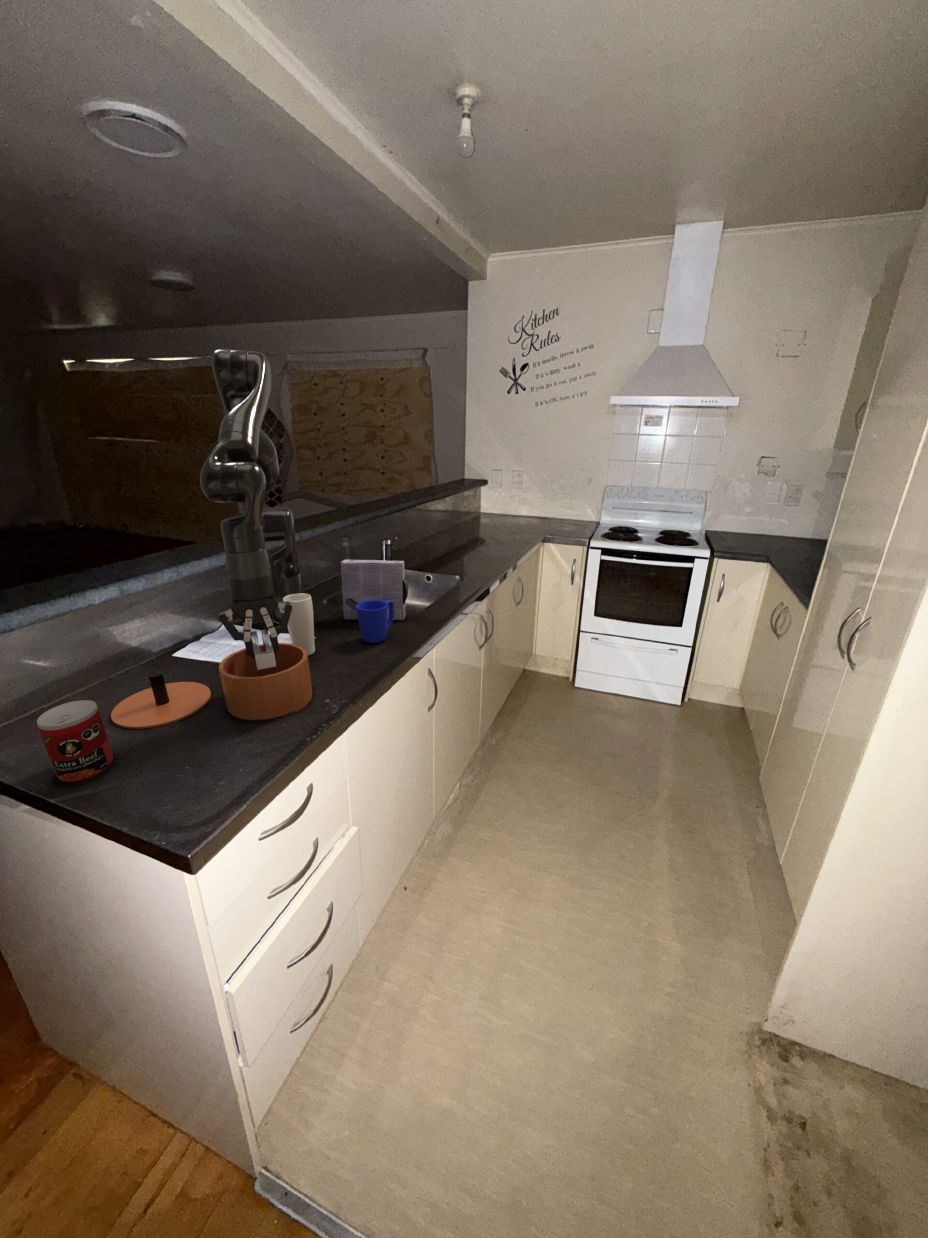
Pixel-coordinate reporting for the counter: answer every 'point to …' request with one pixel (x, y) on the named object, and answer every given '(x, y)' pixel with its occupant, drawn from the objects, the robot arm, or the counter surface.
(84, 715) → the canned food
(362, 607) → the mug
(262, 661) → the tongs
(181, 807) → the counter surface
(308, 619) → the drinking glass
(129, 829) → the counter surface
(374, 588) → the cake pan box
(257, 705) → the pot
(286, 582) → the robot arm
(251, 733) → the counter surface
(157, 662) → the counter surface
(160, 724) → the pot lid
